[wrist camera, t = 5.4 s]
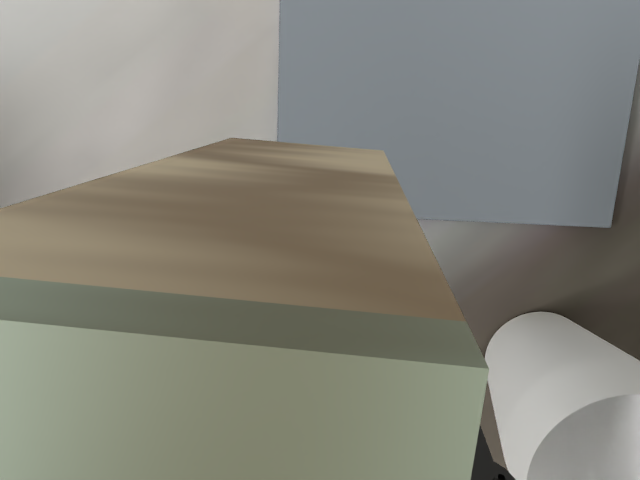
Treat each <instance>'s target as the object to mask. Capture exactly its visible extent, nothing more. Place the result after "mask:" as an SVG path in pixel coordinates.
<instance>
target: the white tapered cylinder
mask: <svg viewBox="0 0 640 480" xmlns="http://www.w3.org/2000/svg"><path fill="white" fill-rule="evenodd" d="M485 361H486V363H487V365H488V367H489V373H488V379H487V380H488V385H489V389H490V394H491V399H492V404H493V408H494V413H495V418H496V422H497V427H498V432H499V437H500V441H501V446H502V450H503V455H504V459H505V463H506V466H507V469H508V471H509V473H510V474H511V475H512V476H513V477H514V478H515V479H516V480H640V361H639V360H638V359H636V358H634V357H633V356H631V355H629V354H627V353H626V352H624V351H622V350H621V349H619V348H617V347H615V346H614V345H612V344H610V343H609V342H607V341H605V340H603V339H602V338H600V337H598V336H597V335H595V334H593V333H591V332H590V331H588V330H586V329H584V328H583V327H581V326H579V325H578V324H576V323H574V322H572V321H571V320H569V319H567V318H566V317H563V316H561V315H558V314H555V313H550V312H532V313H527V314H523V315H520V316H518V317H515V318H513V319H511V320H510V321H508V322H507V323H505V324H504V325H503V326H502V327H501V328H500V329H498V331H497V332H496V333H495V334H494V336H493V337H492V339H491V340H490V342H489V344H488V347H487V350H486V354H485Z"/></svg>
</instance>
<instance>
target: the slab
mask: <svg viewBox="0 0 640 480" xmlns="http://www.w3.org/2000/svg"><path fill="white" fill-rule="evenodd" d="M488 373H489V367H488V365H487V363H486V361H485V359H484V357H483V355H482V353H481V351H480V349H479V347H478V345H477V343H476V341H475V338H474V336H473V334H472V332H471V330H470V328H469V326H468V324H467V322H466V320H465V318H464V316H463V314H462V312H461V310H460V308H459V305H458V303H457V301H456V299H455V297H454V295H453V293H452V291H451V289H450V287H449V285H448V283H447V281H446V279H445V277H444V274H443V272H442V270H441V268H440V266H439V264H438V262H437V260H436V258H435V256H434V254H433V252H432V250H431V248H430V246H429V244H428V241H427V239H426V237H425V235H424V233H423V231H422V229H421V227H420V225H419V223H418V221H417V219H416V217H415V215H414V213H413V210H412V208H411V206H410V204H409V202H408V200H407V198H406V196H405V194H404V192H403V190H402V188H401V186H400V184H399V182H398V180H397V177H396V175H395V173H394V171H393V169H392V167H391V165H390V163H389V161H388V159H387V157H386V155H385V153H384V151H383V150H372V149H359V148H347V147H335V146H323V145H311V144H299V143H287V142H275V141H262V140H250V139H238V138H229V139H226V140H223V141H220V142H216V143H213V144H210V145H206V146H203V147H200V148H197V149H193V150H190V151H187V152H184V153H180V154H177V155H174V156H170V157H167V158H164V159H161V160H157V161H154V162H151V163H148V164H144V165H141V166H138V167H134V168H131V169H128V170H125V171H121V172H118V173H115V174H112V175H108V176H105V177H102V178H98V179H95V180H92V181H89V182H85V183H82V184H79V185H76V186H72V187H69V188H66V189H62V190H59V191H56V192H53V193H49V194H46V195H43V196H40V197H36V198H33V199H30V200H26V201H23V202H20V203H17V204H13V205H10V206H7V207H4V208H0V480H471V474H472V468H473V462H474V456H475V450H476V444H477V438H478V432H479V427H480V421H481V415H482V409H483V403H484V397H485V391H486V385H487V379H488Z"/></svg>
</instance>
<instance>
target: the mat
mask: <svg viewBox="0 0 640 480" xmlns="http://www.w3.org/2000/svg"><path fill="white" fill-rule="evenodd" d="M639 60H640V0H280V22H279V78H278V135H277V142H287V143H299V144H311V145H323V146H335V147H347V148H359V149H372V150H383V151H384V153H385V155H386V157H387V159H388V161H389V163H390V165H391V167H392V169H393V171H394V173H395V175H396V177H397V180H398V182H399V184H400V186H401V188H402V190H403V192H404V194H405V196H406V198H407V200H408V202H409V204H410V206H411V208H412V210H413V213H414V215H415V217H416V219H430V220H452V221H473V222H495V223H517V224H539V225H561V226H582V227H604V228H611V223H612V217H613V211H614V205H615V199H616V194H617V188H618V182H619V176H620V170H621V164H622V159H623V153H624V147H625V141H626V135H627V130H628V124H629V118H630V112H631V106H632V101H633V95H634V89H635V83H636V77H637V72H638V66H639Z"/></svg>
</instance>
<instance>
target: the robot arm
mask: <svg viewBox="0 0 640 480" xmlns="http://www.w3.org/2000/svg"><path fill="white" fill-rule="evenodd" d="M471 480H516V479H515V478H514V477H513V476H512V475H511V474H510V473H509V472H508V471H507V470H506V469H505V468H504V467H502V466H500V465H499V464H497V463H495V462H494V461H493V459H492V456H491V453H490V451H489V448H488V445H487V443H486V440H485V437H484V434H483V432H482V429H481V426H480V427H479V432H478V438H477V444H476V450H475V456H474V462H473V468H472V474H471Z"/></svg>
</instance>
